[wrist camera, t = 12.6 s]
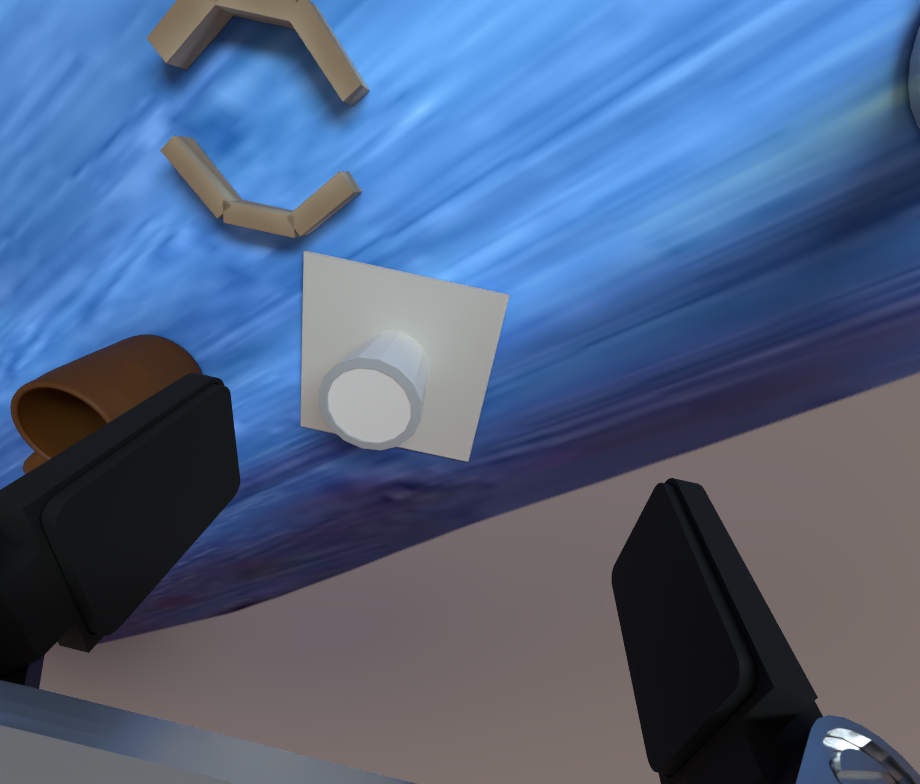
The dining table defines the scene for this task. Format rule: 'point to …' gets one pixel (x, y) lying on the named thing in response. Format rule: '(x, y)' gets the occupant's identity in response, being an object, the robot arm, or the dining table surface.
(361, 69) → the dining table surface
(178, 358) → the mug
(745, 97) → the dining table surface
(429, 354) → the rubber mat
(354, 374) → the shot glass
